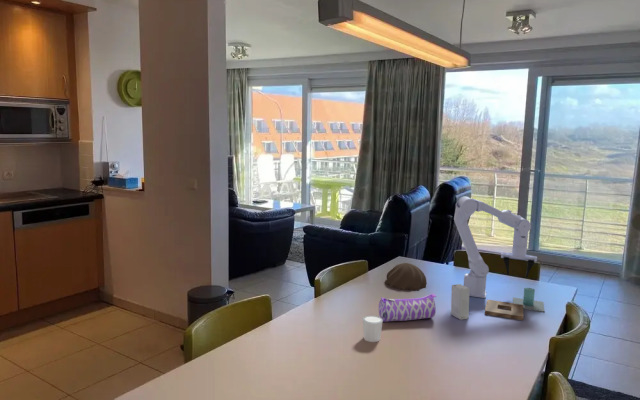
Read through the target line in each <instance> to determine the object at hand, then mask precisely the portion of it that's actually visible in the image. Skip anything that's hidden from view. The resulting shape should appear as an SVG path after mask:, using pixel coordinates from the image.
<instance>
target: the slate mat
mask: <svg viewBox="0 0 640 400" xmlns="http://www.w3.org/2000/svg"><path fill="white" fill-rule="evenodd" d="M512 303H515V304H521V305H523V310H527V311H534V312H539V313H545V312H546V311H545V306H544V305H545V304H544V301H541V300H534V304H533V306H527V305H524V304H523V298H519V297H512Z"/></svg>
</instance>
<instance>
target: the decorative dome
mask: <svg viewBox="0 0 640 400" xmlns="http://www.w3.org/2000/svg"><path fill="white" fill-rule="evenodd" d="M384 284H386V285H388V286H389V287H390V288H392V289H393V288H395V289H399V290H401V289H402V291H407V290H408V291H409V290H410V291H411V290H412V291H419V290H420V289H426V288H427V277H426V275H425V273H424V272H423V270H421V269H420V267H418V266H416V265H414V264H412V263H409V262H402V263H398V264H396V265H395V266H394V267H392V269H390V270H389V271H388V272H387V274H386V280H385V282H384Z"/></svg>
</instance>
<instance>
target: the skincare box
mask: <svg viewBox="0 0 640 400" xmlns="http://www.w3.org/2000/svg"><path fill="white" fill-rule="evenodd" d="M469 291H470V289H469V288H467V287H465V286H464V284H460V283H458V284H452V285H451V294H450V295H451V296H450V297H451V298H450V299H451V300H450V315H451V316H454V317H455V318H456V319H459V320H460V321H461V320H468V319H469V317H470V316H469V314H470V311H469V310H470V308H469V307H470V296H469Z"/></svg>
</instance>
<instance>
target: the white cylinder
mask: <svg viewBox="0 0 640 400" xmlns="http://www.w3.org/2000/svg"><path fill="white" fill-rule="evenodd" d="M383 322H384V321H383V319H382V318H380V316H377V315H366V316H363V317H362V328H363V329H362V330H363V340H364V341H366V342H370V343H377V342H379V341H381V336H382V329H383Z"/></svg>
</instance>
